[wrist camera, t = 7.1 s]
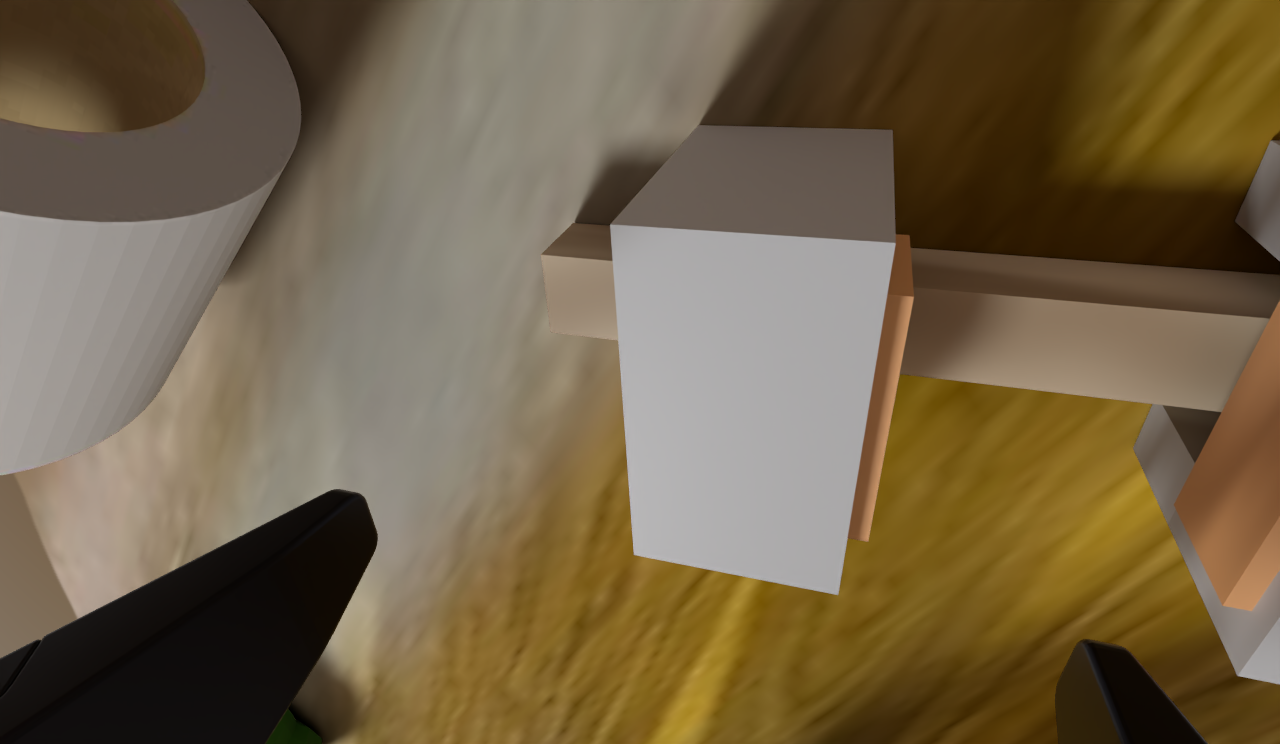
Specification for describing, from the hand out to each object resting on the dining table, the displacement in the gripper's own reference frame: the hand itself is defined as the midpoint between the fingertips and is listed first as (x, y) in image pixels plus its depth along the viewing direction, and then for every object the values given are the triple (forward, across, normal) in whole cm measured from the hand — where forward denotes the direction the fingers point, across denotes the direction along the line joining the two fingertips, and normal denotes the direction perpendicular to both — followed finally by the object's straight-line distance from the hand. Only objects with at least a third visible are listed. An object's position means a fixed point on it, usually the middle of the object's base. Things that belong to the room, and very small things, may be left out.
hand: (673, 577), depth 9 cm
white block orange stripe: (+10, 0, 0) cm, 10 cm away
